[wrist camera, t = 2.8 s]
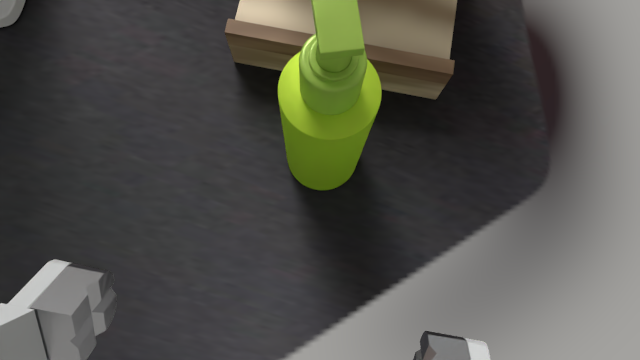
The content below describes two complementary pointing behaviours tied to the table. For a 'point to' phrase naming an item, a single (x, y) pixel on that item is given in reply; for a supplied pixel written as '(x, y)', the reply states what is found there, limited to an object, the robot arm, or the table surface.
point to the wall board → (378, 34)
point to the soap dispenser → (328, 98)
